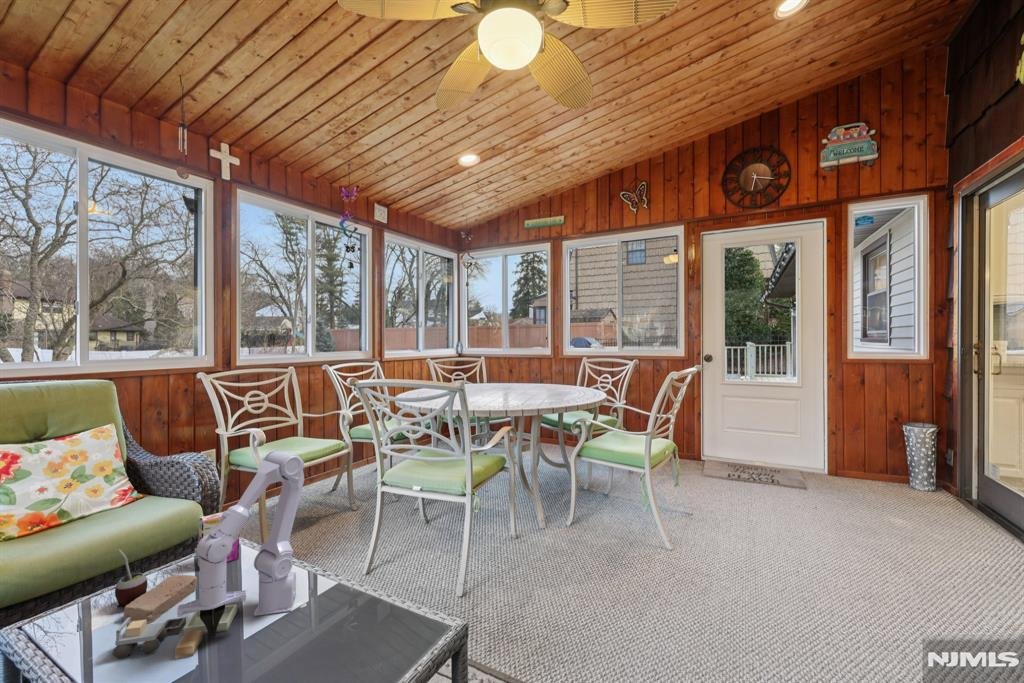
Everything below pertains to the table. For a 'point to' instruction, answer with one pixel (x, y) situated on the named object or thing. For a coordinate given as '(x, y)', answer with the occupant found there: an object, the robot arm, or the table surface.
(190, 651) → the block
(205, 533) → the candy bar box
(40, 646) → the table surface
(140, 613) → the brick
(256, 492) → the robot arm
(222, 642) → the table surface
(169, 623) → the socket
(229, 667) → the table surface
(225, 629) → the tray
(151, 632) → the trolley
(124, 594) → the mate gourd
